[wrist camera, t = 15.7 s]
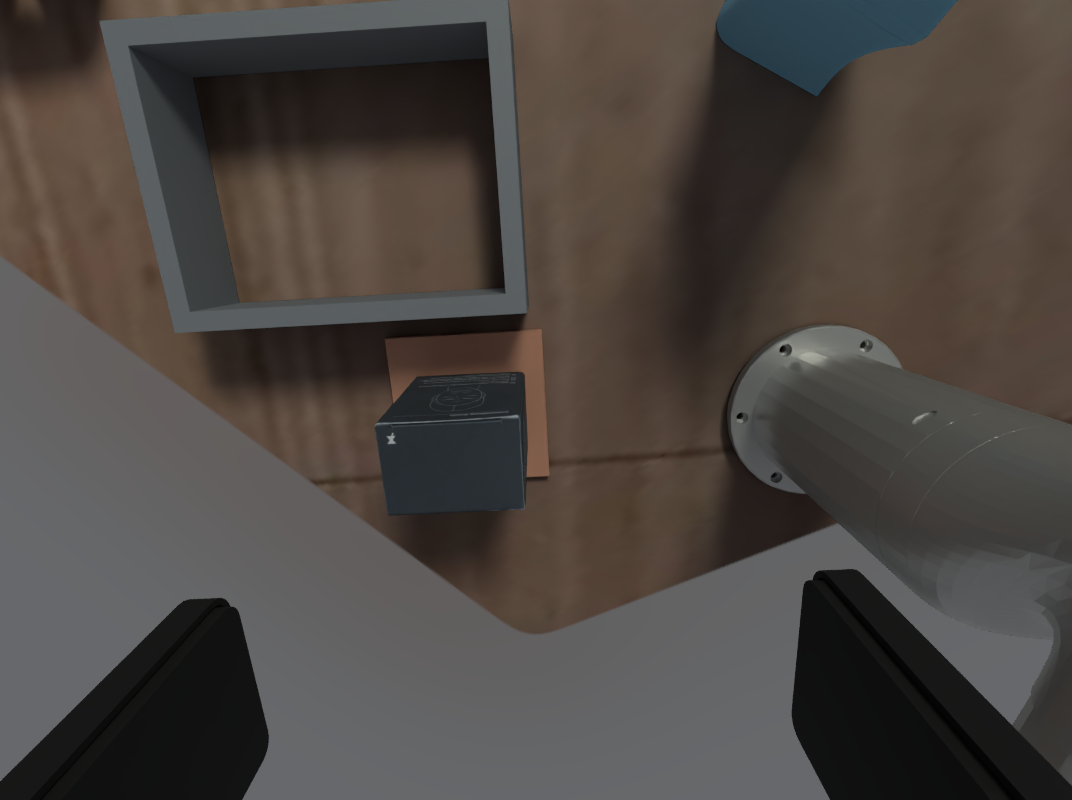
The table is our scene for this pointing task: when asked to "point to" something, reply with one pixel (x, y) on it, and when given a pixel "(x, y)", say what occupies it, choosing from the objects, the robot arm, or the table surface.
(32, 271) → the table surface
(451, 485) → the box
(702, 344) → the table surface
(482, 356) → the mat
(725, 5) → the vase
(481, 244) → the table surface
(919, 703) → the robot arm
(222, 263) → the enclosure
